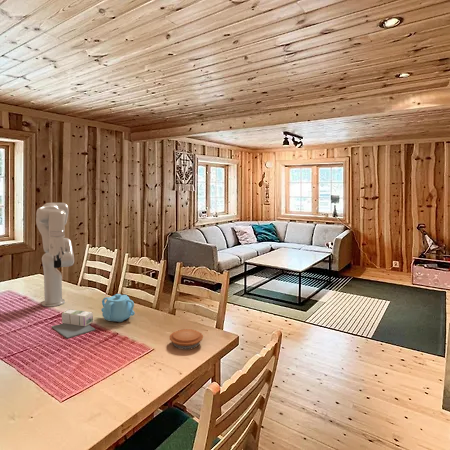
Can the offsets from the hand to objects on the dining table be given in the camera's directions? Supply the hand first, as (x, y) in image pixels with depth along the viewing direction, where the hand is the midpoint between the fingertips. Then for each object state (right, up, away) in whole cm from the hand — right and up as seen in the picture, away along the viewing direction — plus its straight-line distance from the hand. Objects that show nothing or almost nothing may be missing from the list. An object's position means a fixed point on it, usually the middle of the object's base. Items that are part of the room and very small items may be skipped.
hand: (57, 267), depth 180 cm
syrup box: (+7, -25, -6) cm, 26 cm away
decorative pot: (+32, -29, +2) cm, 43 cm away
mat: (+15, -29, -13) cm, 35 cm away
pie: (+73, -33, -25) cm, 83 cm away
